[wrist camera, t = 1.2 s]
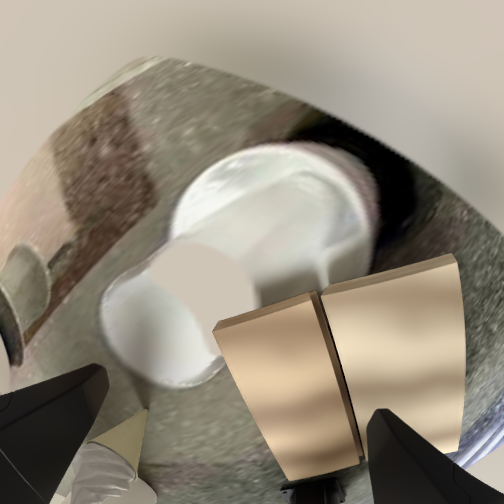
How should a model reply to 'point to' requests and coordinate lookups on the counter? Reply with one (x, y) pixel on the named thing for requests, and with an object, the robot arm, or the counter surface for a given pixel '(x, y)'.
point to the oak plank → (404, 346)
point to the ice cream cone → (108, 462)
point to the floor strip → (292, 385)
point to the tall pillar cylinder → (129, 495)
